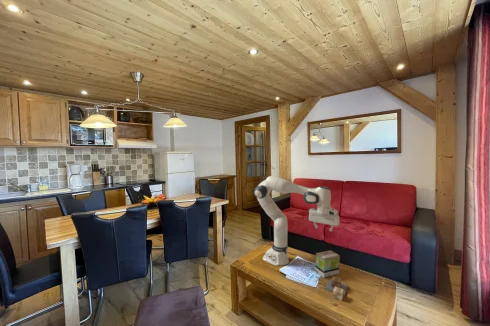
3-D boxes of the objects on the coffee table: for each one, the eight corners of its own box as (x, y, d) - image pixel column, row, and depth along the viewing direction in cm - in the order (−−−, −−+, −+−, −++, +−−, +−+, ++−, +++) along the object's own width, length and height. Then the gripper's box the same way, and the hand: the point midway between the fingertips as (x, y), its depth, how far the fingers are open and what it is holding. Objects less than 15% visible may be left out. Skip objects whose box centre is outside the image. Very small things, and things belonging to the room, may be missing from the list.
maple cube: (333, 298, 135) (333, 290, 135) (334, 293, 139) (335, 286, 139) (341, 301, 132) (341, 293, 132) (343, 296, 136) (343, 289, 136)
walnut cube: (331, 286, 144) (331, 279, 144) (333, 283, 148) (333, 276, 148) (339, 289, 141) (339, 282, 141) (340, 285, 145) (341, 278, 145)
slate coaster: (324, 289, 143) (324, 287, 143) (329, 280, 153) (329, 279, 153) (344, 296, 136) (344, 294, 136) (347, 286, 146) (347, 285, 146)
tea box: (324, 278, 156) (324, 258, 155) (314, 271, 165) (315, 252, 165) (339, 274, 162) (340, 255, 161) (329, 267, 171) (330, 249, 170)
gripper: (307, 208, 150) (307, 227, 150) (338, 213, 138) (337, 234, 139) (310, 206, 155) (310, 225, 156) (340, 211, 143) (339, 231, 144)
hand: (323, 229), depth 147 cm, fingers open, 8 cm apart
